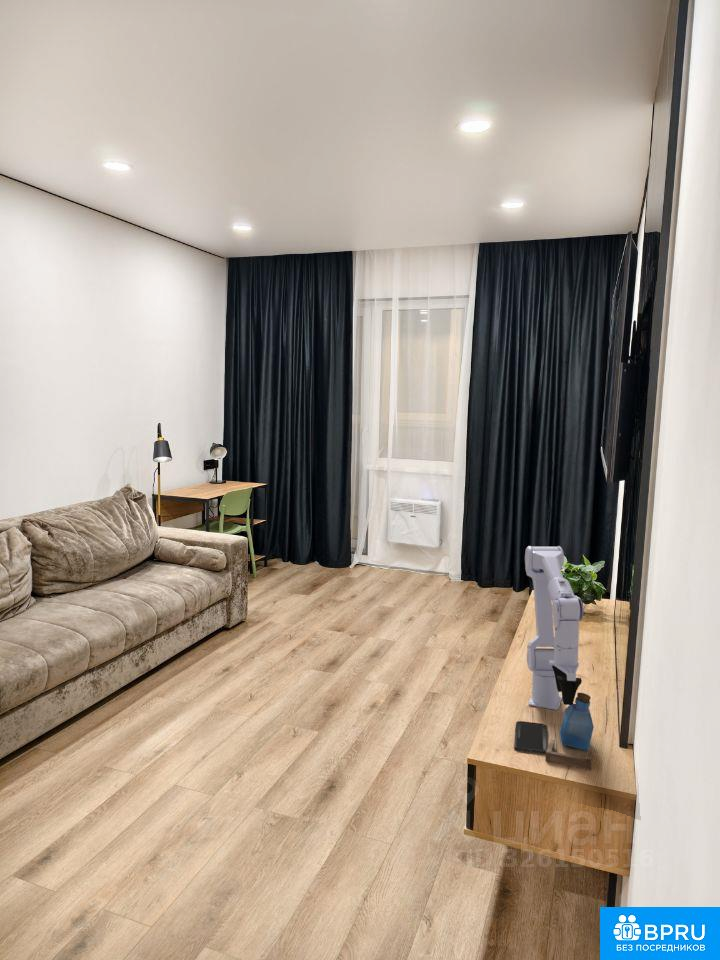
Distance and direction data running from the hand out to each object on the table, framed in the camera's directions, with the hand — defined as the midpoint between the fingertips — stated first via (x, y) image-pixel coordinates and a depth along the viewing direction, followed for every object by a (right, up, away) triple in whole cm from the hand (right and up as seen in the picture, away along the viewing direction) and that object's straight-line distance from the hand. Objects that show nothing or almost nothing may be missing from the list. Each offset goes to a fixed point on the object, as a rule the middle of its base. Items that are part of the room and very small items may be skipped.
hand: (564, 697), depth 164 cm
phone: (-9, -10, -1) cm, 14 cm away
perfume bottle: (+1, -10, -4) cm, 10 cm away
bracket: (-2, -10, -10) cm, 15 cm away
